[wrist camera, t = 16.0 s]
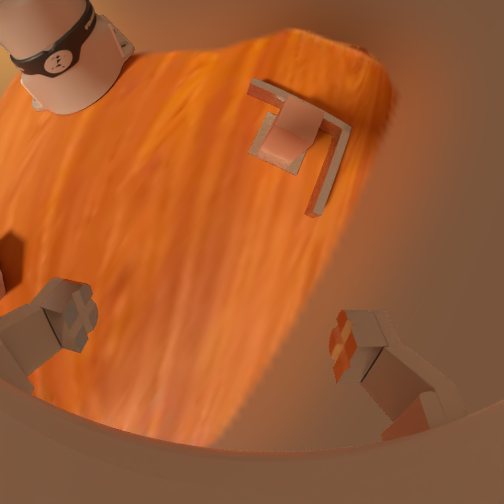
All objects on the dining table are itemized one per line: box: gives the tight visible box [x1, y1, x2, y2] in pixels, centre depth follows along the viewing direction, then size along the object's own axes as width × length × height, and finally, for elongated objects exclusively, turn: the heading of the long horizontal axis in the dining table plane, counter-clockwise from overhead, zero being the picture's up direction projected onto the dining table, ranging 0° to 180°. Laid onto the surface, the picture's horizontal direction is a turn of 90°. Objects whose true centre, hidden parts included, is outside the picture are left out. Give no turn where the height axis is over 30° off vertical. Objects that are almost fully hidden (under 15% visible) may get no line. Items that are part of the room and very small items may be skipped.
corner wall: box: [247, 78, 352, 218], centre depth 33 cm, size 14×15×3 cm
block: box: [260, 95, 325, 163], centre depth 31 cm, size 4×4×8 cm
